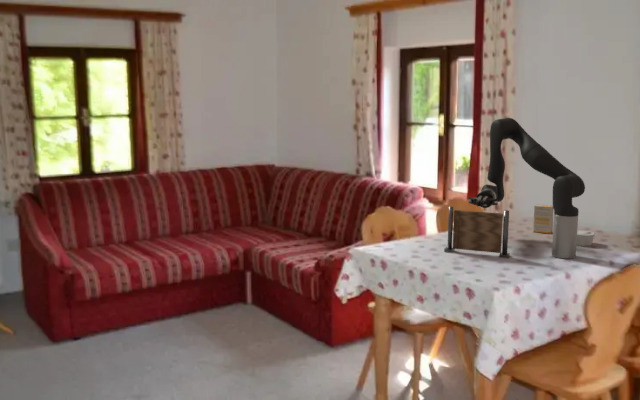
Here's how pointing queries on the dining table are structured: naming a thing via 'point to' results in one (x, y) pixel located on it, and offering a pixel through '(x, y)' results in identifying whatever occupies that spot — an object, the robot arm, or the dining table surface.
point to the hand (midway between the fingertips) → (479, 204)
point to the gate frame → (505, 234)
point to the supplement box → (543, 218)
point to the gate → (477, 231)
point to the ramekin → (584, 238)
